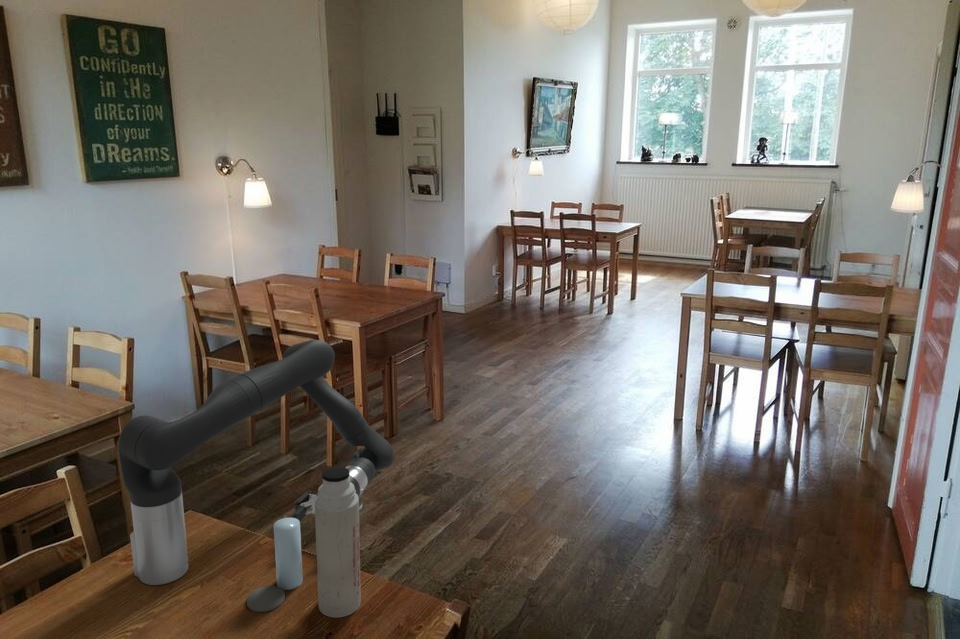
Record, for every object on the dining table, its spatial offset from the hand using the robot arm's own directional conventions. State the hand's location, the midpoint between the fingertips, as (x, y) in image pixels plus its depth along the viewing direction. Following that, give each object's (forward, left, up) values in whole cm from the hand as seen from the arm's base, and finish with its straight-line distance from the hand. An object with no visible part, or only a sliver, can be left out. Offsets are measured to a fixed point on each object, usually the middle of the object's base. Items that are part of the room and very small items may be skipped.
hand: (313, 522), depth 144 cm
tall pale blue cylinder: (0, -10, -7) cm, 13 cm away
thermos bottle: (+12, -14, -7) cm, 20 cm away
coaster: (-2, -17, -7) cm, 18 cm away
